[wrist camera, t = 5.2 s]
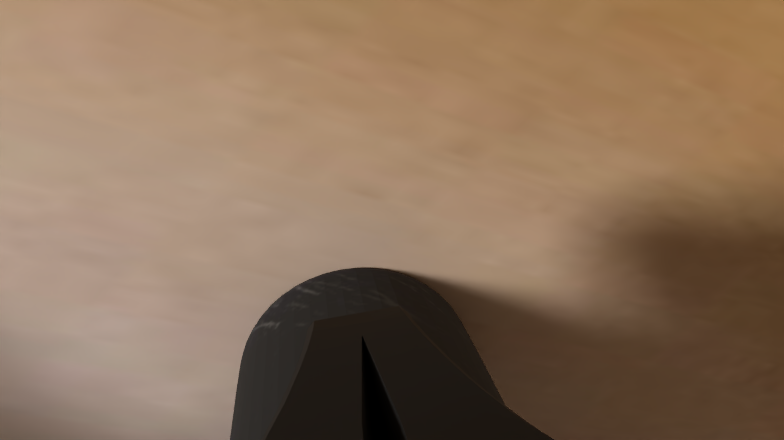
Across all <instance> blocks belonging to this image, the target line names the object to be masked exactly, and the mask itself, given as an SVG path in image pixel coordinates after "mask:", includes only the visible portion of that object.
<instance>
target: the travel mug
mask: <svg viewBox="0 0 784 440" xmlns="http://www.w3.org/2000/svg"><path fill="white" fill-rule="evenodd" d="M395 306H400V307H401V308H403V309H404V310H405V311H407V312H408V313H409V315H410V316H411V317H412V319H413V320H414V321H415V322H416V323H417V325H418V326H419V327H420V328H421V329H422V330H423V331H424V332H425V333H426V335H427V336H428V337H429V338H430V339H431V340H432V341H433V342H434V343H435V344H436V345H437V346H438V347H439V348H440V349H441V350H442V351H443V352H444V353H445V354H446V355H447V356H448V357H449V358H450V359H451V360H452V361H453V362H454V363H456V364H457V365H458V366H459V367H460V368H461V369H462V370H463V371H464V372H465V373H467V374H468V375H469V376H470V377H471V378H472V379H473V380H474V381H475V382H477V383H478V384H479V385H480V386H481V387H483V388H484V389H485V390H486V391H487V392H489V393H490V394H491V395H492V396H494V397H495V398H496V399H497V400H499V401H500V402H501V403H502V404H504V402H503V400H502V398H501V396H500V394H499V392H498V390H497V389H496V387H495V385H494V383H493V381H492V379H491V377H490V375H489V373H488V371H487V369H486V367H485V365H484V363H483V361H482V360H481V358H480V356H479V354H478V352H477V350H476V348H475V346H474V344H473V343H472V341H471V339H470V337H469V335H468V333H467V332H466V330H465V328H464V326H463V324H462V322H461V321H460V319H459V317H458V316H457V314H456V313H455V312H454V310H453V309H452V308H451V306H450V305H449V304H448V303H447V302H446V301H445V300H444V299H443V298H442V297H441V296H440V295H439V294H437V293H436V292H435V291H433V290H432V289H431V288H429V287H428V286H426V285H425V284H423V283H421V282H419V281H417V280H415V279H414V278H411V277H408V276H406V275H403V274H400V273H397V272H392V271H388V270H383V269H374V268H352V269H344V270H338V271H334V272H330V273H326V274H322V275H320V276H317V277H314V278H312V279H309V280H307V281H305V282H303V283H301V284H299V285H297V286H295V287H294V288H292V289H291V290H289V291H288V292H287V293H285V294H284V295H282V296H281V297H280V298H279V299H278V300H277V301H275V302H274V303H273V304H272V305H271V306H270V307H269V308H268V309H267V311H266V312H265V313H264V314H263V315H262V316H261V318H260V319H259V321H258V322H257V324H256V325H255V327H254V328H253V330H252V332H251V334H250V336H249V338H248V340H247V343H246V346H245V349H244V353H243V356H242V360H241V365H240V371H239V378H238V384H237V391H236V399H235V406H234V414H233V421H232V429H231V436H230V440H262V438H263V436H264V434H265V432H266V430H267V429H268V427H269V425H270V423H271V421H272V419H273V418H274V416H275V414H276V412H277V410H278V407H279V405H280V403H281V401H282V399H283V396H284V394H285V392H286V390H287V387H288V385H289V383H290V381H291V379H292V376H293V374H294V371H295V369H296V366H297V363H298V361H299V358H300V355H301V352H302V349H303V346H304V343H305V339H306V335H307V329H308V328H309V327H310V325H311V324H312V323H313V322H314V321H315V320H321V319H327V318H332V317H338V316H344V315H350V314H355V313H361V312H367V311H372V310H378V309H384V308H390V307H395ZM504 405H505V404H504Z"/></svg>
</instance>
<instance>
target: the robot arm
mask: <svg viewBox="0 0 784 440" xmlns="http://www.w3.org/2000/svg"><path fill="white" fill-rule="evenodd" d="M262 440H554V439H552V438H550V437H549V436H547V435H546V434H544V433H543V432H541V431H539V430H538V429H537V428H535V427H534V426H532V425H531V424H529V423H528V422H526V421H525V420H524V419H522V418H521V417H520V416H518V415H517V414H515V413H514V412H513V411H511V410H510V409H509V408H508V407H506V406H505V405H504V404H502V403H501V402H500V401H499V400H497V399H496V398H495V397H494V396H492V395H491V394H490V393H489V392H487V391H486V390H485V389H484V388H483V387H481V386H480V385H479V384H478V383H477V382H475V381H474V380H473V379H472V378H471V377H470V376H469V375H468V374H467V373H465V372H464V371H463V370H462V369H461V368H460V367H459V366H458V365H457V364H456V363H454V362H453V361H452V360H451V359H450V358H449V357H448V356H447V355H446V354H445V353H444V352H443V351H442V350H441V349H440V348H439V347H438V346H437V345H436V344H435V343H434V342H433V341H432V340H431V339H430V338H429V337H428V336H427V335H426V333H425V332H424V331H423V330H422V329H421V328H420V327H419V326H418V325H417V323H416V322H415V321H414V320H413V319H412V317H411V316H410V315H409V313H408V312H407V311H405V310H404V309H403V308H401V307H400V306H395V307H390V308H384V309H378V310H372V311H367V312H361V313H355V314H350V315H344V316H338V317H332V318H327V319H321V320H315V321H314V322H313V323H312V324H311V325H310V327H309V328H308V329H307V335H306V339H305V343H304V346H303V349H302V352H301V355H300V358H299V361H298V363H297V366H296V369H295V371H294V374H293V376H292V379H291V381H290V383H289V385H288V387H287V390H286V392H285V394H284V396H283V399H282V401H281V403H280V405H279V407H278V410H277V412H276V414H275V416H274V418H273V419H272V421H271V423H270V425H269V427H268V429H267V430H266V432H265V434H264V436H263V438H262Z"/></svg>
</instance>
